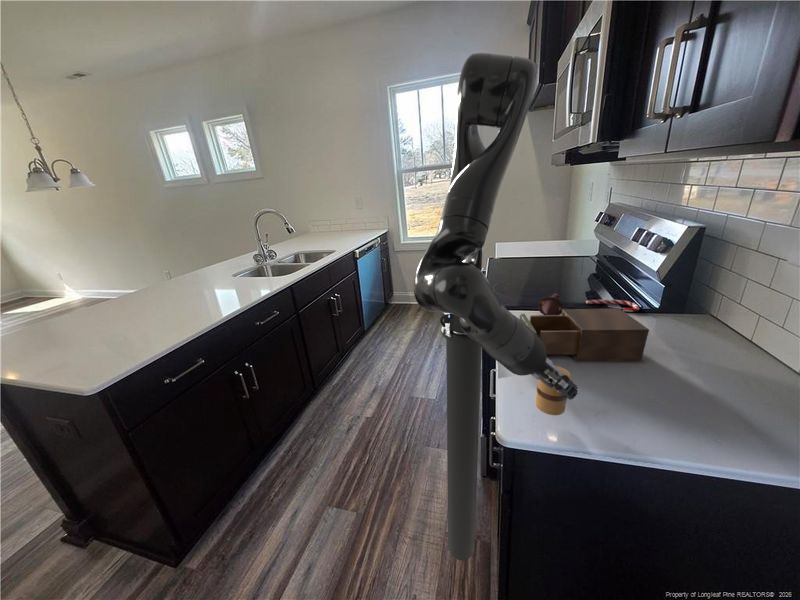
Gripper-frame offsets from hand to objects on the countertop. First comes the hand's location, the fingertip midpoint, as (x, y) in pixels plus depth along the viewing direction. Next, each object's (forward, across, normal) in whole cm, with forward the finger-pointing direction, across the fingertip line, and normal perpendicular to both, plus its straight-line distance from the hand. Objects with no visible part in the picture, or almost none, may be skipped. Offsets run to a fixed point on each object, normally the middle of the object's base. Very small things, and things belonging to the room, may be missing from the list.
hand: (560, 385), depth 60 cm
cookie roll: (+2, 0, +4) cm, 5 cm away
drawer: (+14, +20, -6) cm, 26 cm away
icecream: (+27, +35, -17) cm, 48 cm away
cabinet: (+24, +14, -15) cm, 31 cm away
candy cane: (+43, +32, -34) cm, 63 cm away
